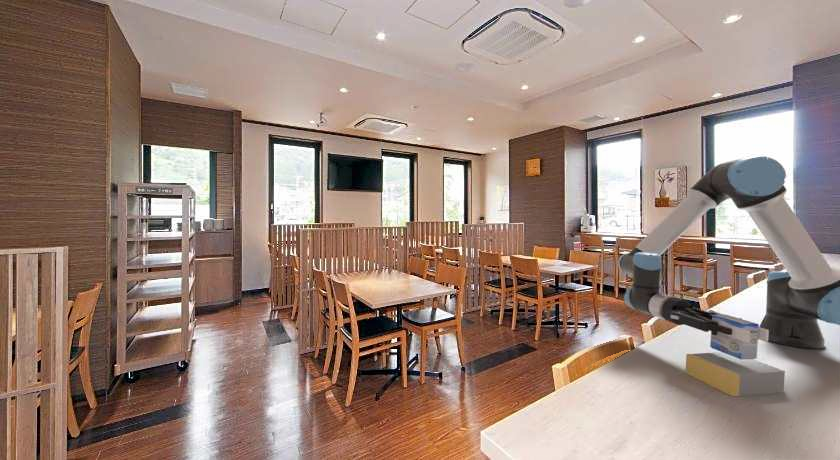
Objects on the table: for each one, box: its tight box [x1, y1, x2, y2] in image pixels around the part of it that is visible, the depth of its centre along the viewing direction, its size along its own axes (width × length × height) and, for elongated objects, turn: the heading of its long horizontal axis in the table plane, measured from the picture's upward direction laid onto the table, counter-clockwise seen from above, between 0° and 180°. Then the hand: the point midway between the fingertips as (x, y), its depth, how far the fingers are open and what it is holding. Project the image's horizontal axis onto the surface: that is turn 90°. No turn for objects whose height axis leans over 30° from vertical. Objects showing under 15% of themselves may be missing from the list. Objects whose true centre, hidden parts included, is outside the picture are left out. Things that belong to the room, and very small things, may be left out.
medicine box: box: [709, 313, 760, 360], centre depth 86 cm, size 8×4×9 cm, turn 8°
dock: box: [685, 351, 786, 397], centre depth 87 cm, size 14×12×5 cm
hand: (757, 336), depth 81 cm, fingers closed on medicine box, 4 cm apart
